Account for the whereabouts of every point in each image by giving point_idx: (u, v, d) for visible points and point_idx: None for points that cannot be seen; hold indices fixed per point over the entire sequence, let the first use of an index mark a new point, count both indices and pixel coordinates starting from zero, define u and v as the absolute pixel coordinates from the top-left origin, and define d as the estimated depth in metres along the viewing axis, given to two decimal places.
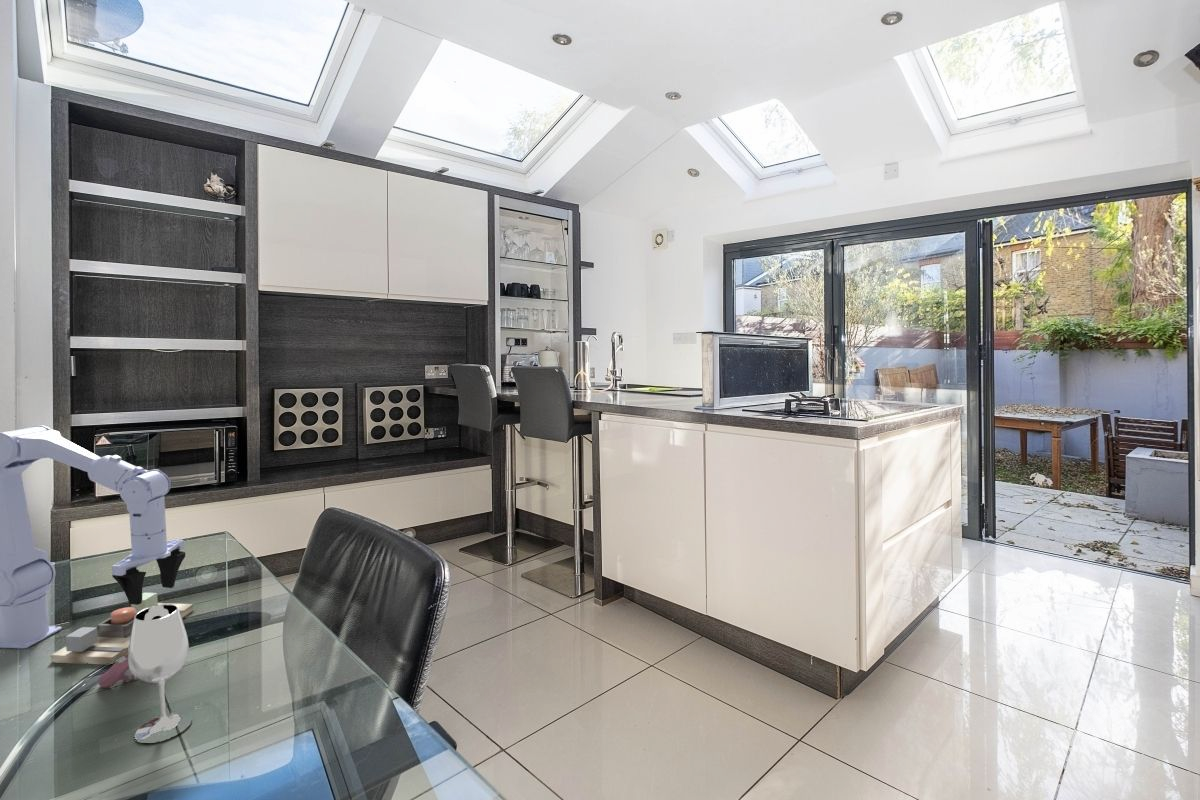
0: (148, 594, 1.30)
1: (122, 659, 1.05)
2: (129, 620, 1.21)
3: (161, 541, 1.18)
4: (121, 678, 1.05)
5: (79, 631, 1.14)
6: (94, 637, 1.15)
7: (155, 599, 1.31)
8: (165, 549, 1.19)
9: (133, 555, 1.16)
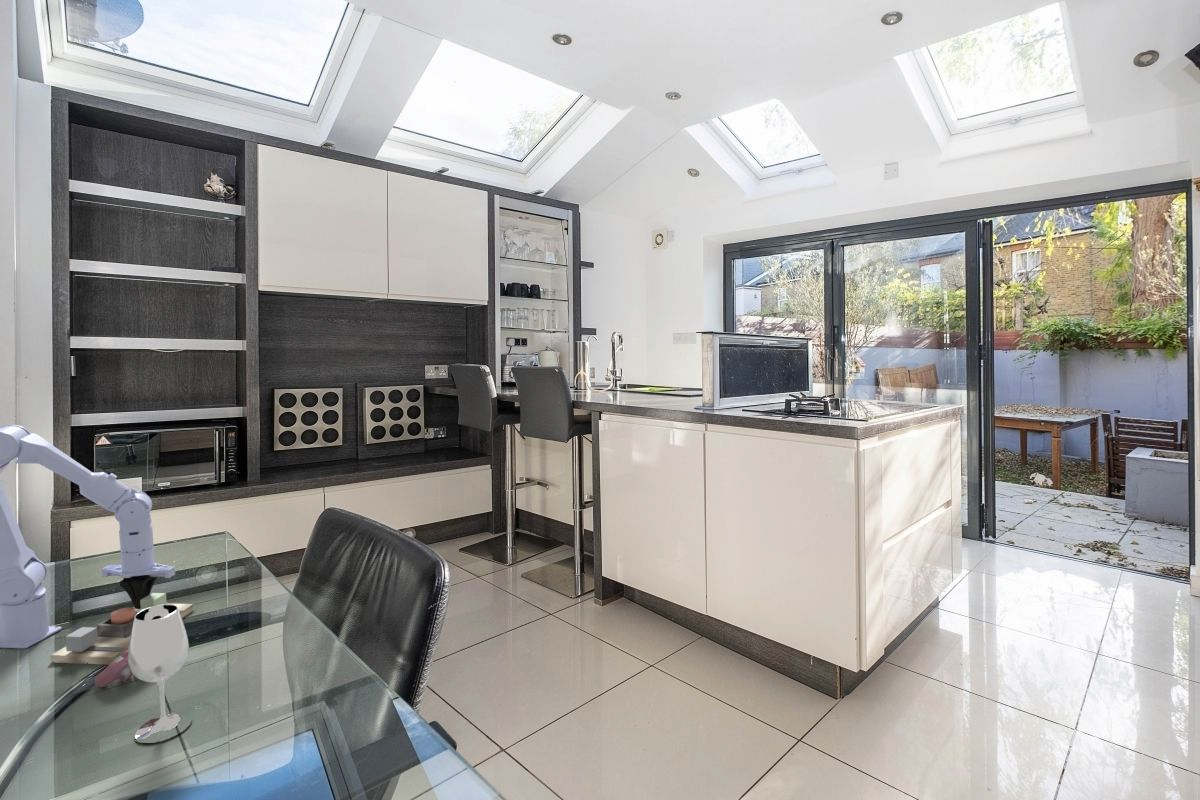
0: (157, 594, 1.30)
1: (118, 659, 1.05)
2: (129, 620, 1.21)
3: (127, 562, 1.26)
4: (117, 678, 1.05)
5: (79, 631, 1.14)
6: (94, 637, 1.15)
7: (164, 599, 1.31)
8: (133, 570, 1.26)
9: None
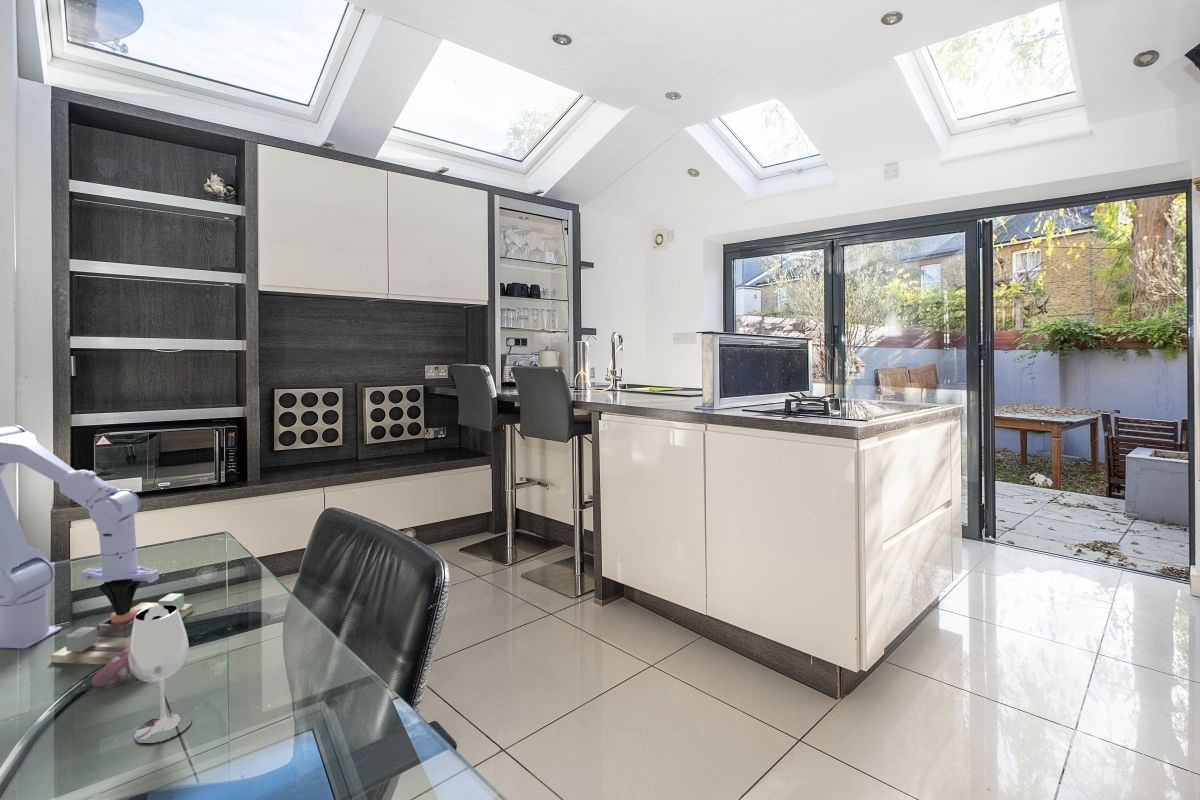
0: (175, 595, 1.30)
1: (115, 658, 1.05)
2: (129, 621, 1.21)
3: (107, 565, 1.17)
4: (114, 677, 1.05)
5: (79, 631, 1.14)
6: (94, 637, 1.15)
7: (182, 600, 1.31)
8: (113, 574, 1.18)
9: None
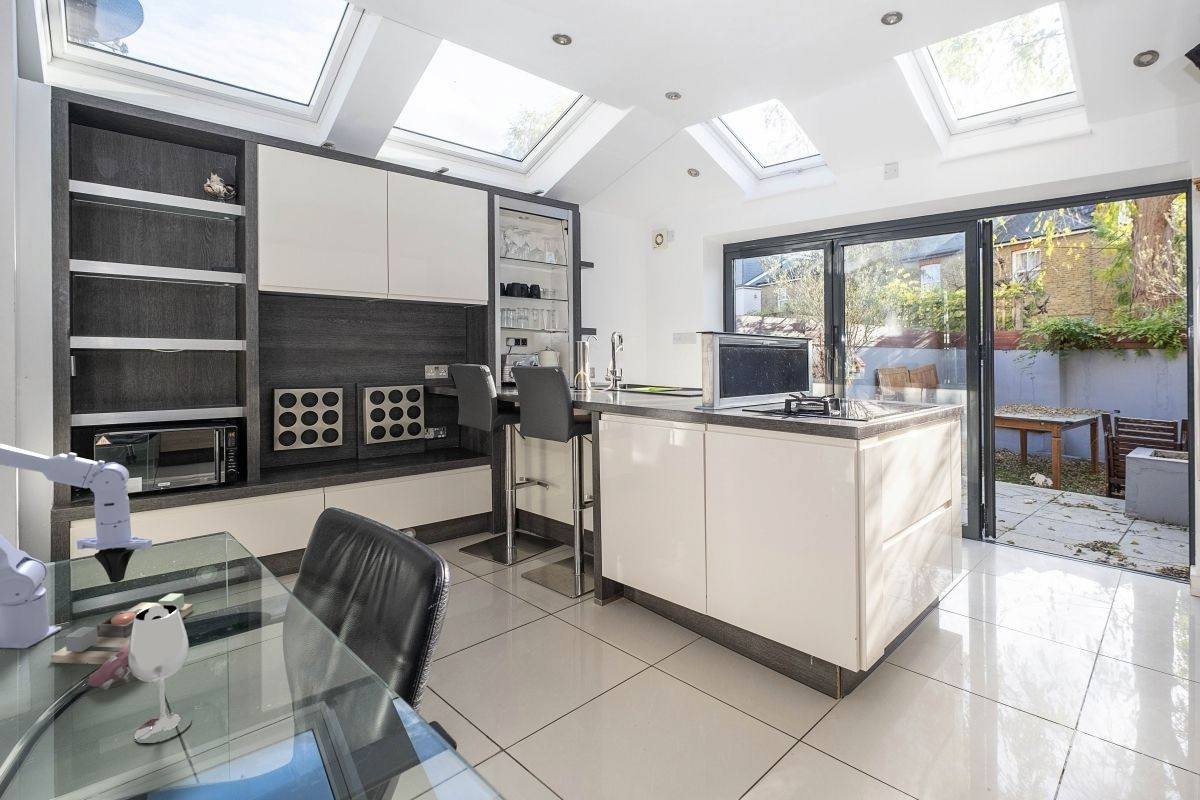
0: (175, 595, 1.30)
1: (112, 658, 1.05)
2: None
3: (102, 533, 1.23)
4: (111, 677, 1.05)
5: (79, 631, 1.14)
6: (94, 637, 1.15)
7: (182, 600, 1.31)
8: (108, 542, 1.23)
9: None
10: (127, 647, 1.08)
